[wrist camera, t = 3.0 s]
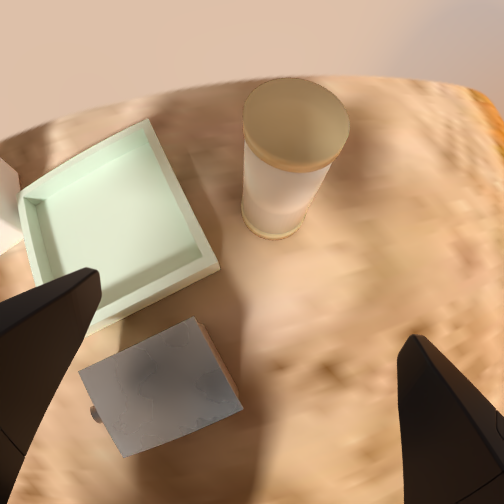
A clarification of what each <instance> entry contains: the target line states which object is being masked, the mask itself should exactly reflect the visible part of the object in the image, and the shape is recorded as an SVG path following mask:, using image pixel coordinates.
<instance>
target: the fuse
mask: <svg viewBox="0 0 504 504" xmlns="http://www.w3.org/2000/svg"><path fill="white" fill-rule="evenodd" d="M349 132H350V121H349V116H348V114H347V111H346V109H345V107H344V106H343V104H342V103H341V101H340V100H339V99H338V98H337V97H336V96H335V95H334V94H333V93H332V92H330V91H329V90H327V89H326V88H324V87H322V86H321V85H318V84H316V83H314V82H311V81H308V80H303V79H298V78H281V79H275V80H271V81H268V82H266V83H264V84H262V85H260V86H258V87H257V88H256V89H254V90H253V91H252V92H251V93H250V95H249V96H248V98H247V99H246V101H245V104H244V108H243V135H244V173H243V196H242V201H241V213H242V218H243V220H244V223H245V224H246V226H247V227H248V228H249V230H250V231H252V232H253V233H254V234H255V235H257V236H259V237H261V238H264V239H268V240H280V239H284V238H287V237H289V236H291V235H293V234H294V233H295V232H296V231H297V230H298V229H299V228H300V226H301V224H302V223H303V221H304V219H305V216H306V213H307V210H308V208H309V206H310V204H311V203H312V201H313V199H314V197H315V195H316V193H317V191H318V189H319V187H320V185H321V184H322V182H323V180H324V178H325V176H326V174H327V172H328V170H329V168H330V166H331V164H332V162H333V161H334V160H335V159H336V158H337V157H338V155H339V154H340V152H341V150H342V148H343V146H344V144H345V142H346V140H347V138H348V135H349Z"/></svg>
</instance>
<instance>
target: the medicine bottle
mask: <svg viewBox="0 0 504 504" xmlns="http://www.w3.org/2000/svg"><path fill="white" fill-rule="evenodd" d="M20 191H21V189H20V183H19V176H18V173H17V172H16V171H15V170H14V169H13V168H12V167H11V166H9V165H8V164H7V163H6V162H5V161H4V160H3V159H2V158H0V256H1V255H2V254H3V253H5V252H6V251H7V250H9V249H10V248H12V247H13V246H15V245H16V244H17V243H19V242H20V241H22V240H23V239H24V237H23V232H22V227H21V222H20V216H19V211H18V205H17V198H16V194H17V193H18V192H20Z"/></svg>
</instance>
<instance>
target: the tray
mask: <svg viewBox="0 0 504 504" xmlns="http://www.w3.org/2000/svg"><path fill="white" fill-rule="evenodd" d="M16 198H17V205H18V211H19V216H20V222H21V227H22V232H23V237H24V241H25V246H26V250H27V255H28V259H29V263H30V267H31V271H32V274H33V278H34V282H35V285H36V287H38V286H40V285H42V284H45V283H47V282H50V281H52V280H54V279H57V278H59V277H62V276H64V275H67V274H69V273H72V272H74V271H77V270H79V269H82V268H84V267H89V268H93V269H96V270H98V271H99V273H100V281H101V290H102V298H101V301H100V303H99V306H98V308H97V310H96V312H95V314H94V317H93V319H92V321H91V323H90V326H89V328H88V330H87V333H86V335H85V337H87V336H89V335H91V334H93V333H95V332H97V331H99V330H101V329H103V328H105V327H107V326H109V325H111V324H113V323H115V322H117V321H119V320H121V319H123V318H125V317H127V316H129V315H131V314H133V313H135V312H137V311H139V310H141V309H143V308H145V307H147V306H149V305H151V304H153V303H155V302H157V301H159V300H161V299H163V298H165V297H167V296H169V295H171V294H173V293H175V292H177V291H179V290H181V289H183V288H185V287H187V286H189V285H191V284H193V283H195V282H197V281H199V280H201V279H203V278H205V277H207V276H209V275H211V274H213V273H215V272H217V271H219V270H221V269H220V266H219V263H218V260H217V258H216V256H215V254H214V252H213V250H212V248H211V246H210V244H209V242H208V241H207V239H206V237H205V235H204V233H203V231H202V229H201V227H200V225H199V223H198V221H197V219H196V217H195V215H194V212H193V210H192V208H191V206H190V204H189V202H188V200H187V198H186V196H185V194H184V192H183V190H182V188H181V186H180V184H179V182H178V180H177V178H176V176H175V174H174V172H173V169H172V167H171V165H170V163H169V161H168V159H167V157H166V155H165V153H164V151H163V148H162V146H161V144H160V142H159V140H158V138H157V136H156V134H155V131H154V129H153V127H152V125H151V123H150V121H149V119H148V118H147V119H145V120H143V121H141V122H139V123H137V124H135V125H133V126H131V127H129V128H127V129H125V130H123V131H121V132H119V133H117V134H115V135H113V136H111V137H109V138H107V139H105V140H103V141H101V142H100V143H98V144H96V145H94V146H92V147H90V148H89V149H87V150H85V151H83V152H82V153H80V154H78V155H76V156H75V157H73V158H71V159H70V160H68V161H66V162H65V163H63V164H61V165H60V166H58V167H56V168H55V169H53V170H52V171H50V172H48V173H47V174H45V175H44V176H42V177H41V178H39V179H38V180H36V181H35V182H33V183H32V184H30V185H29V186H27V187H26V188H24V189H23V190H21V191H20V192H18V193H17V194H16ZM85 337H84V338H85Z"/></svg>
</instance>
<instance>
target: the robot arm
mask: <svg viewBox="0 0 504 504" xmlns="http://www.w3.org/2000/svg"><path fill="white" fill-rule="evenodd" d="M101 298H102V290H101V281H100V273H99V271H98V270H96V269H93V268H89V267H84V268H82V269H79V270H77V271H74V272H72V273H69V274H67V275H64V276H62V277H59V278H57V279H54V280H52V281H50V282H47V283H45V284H42V285H40V286H38V287H35V288H33V289H30V290H28V291H26V292H23V293H21V294H19V295H16V296H14V297H12V298H9V299H7V300H5V301H2V302H0V504H7V502H8V499H9V497H10V494H11V491H12V489H13V486H14V483H15V481H16V478H17V476H18V473H19V471H20V469H21V466H22V464H23V461H24V459H25V457H24V456H26V454H27V451H28V449H29V447H30V445H31V442H32V440H33V438H34V436H35V434H36V431H37V429H38V427H39V425H40V423H41V421H42V419H43V416H44V414H45V412H46V410H47V408H48V406H49V404H50V402H51V400H52V398H53V396H54V394H55V392H56V390H57V388H58V386H59V384H60V382H61V381H62V379H63V377H64V375H65V373H66V371H67V369H68V367H69V366H70V364H71V362H72V360H73V358H74V356H75V355H76V353H77V351H78V349H79V347H80V345H81V344H82V342H83V339H84V337H85V335H86V333H87V330H88V328H89V326H90V323H91V321H92V319H93V317H94V314H95V312H96V310H97V308H98V306H99V303H100V301H101ZM397 380H398V411H399V421H400V432H401V444H402V459H403V479H404V504H504V417H503V416H502V415H501V414H500V413H499V411H498V410H496V408H495V407H494V406H493V405H492V404H491V403H490V402H489V401H488V400H487V399H486V398H485V397H484V396H483V394H482V393H481V392H480V391H479V390H478V389H477V388H476V387H475V386H474V385H473V384H472V383H471V382H470V381H469V380H468V379H467V378H466V377H465V376H464V375H463V374H462V373H461V372H460V371H459V370H458V369H457V368H456V367H455V366H454V365H453V364H452V363H451V362H450V361H449V360H448V359H447V358H446V357H445V356H444V355H443V354H442V353H441V352H440V351H439V350H438V349H437V348H436V347H435V346H434V345H433V344H432V343H431V342H430V341H429V340H428V339H427V338H426V337H425V336H423V335H417V334H412V335H410V336H409V337H408V339H407V341H406V342H405V344H404V346H403V347H402V349H401V350H400V352H399V354H398V357H397Z"/></svg>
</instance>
